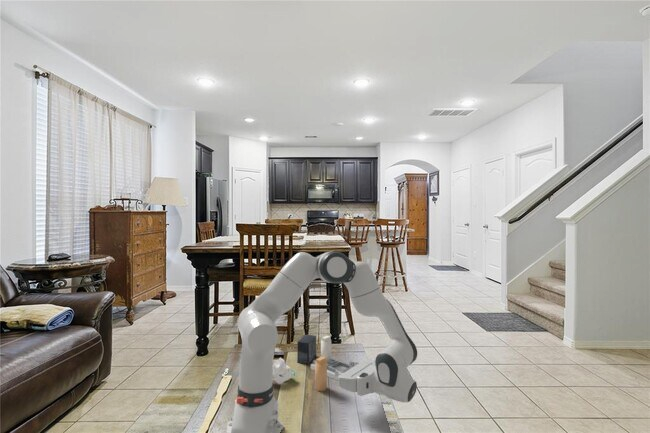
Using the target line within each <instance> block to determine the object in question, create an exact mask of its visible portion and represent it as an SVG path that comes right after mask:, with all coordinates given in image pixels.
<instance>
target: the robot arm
mask: <svg viewBox="0 0 650 433" xmlns="http://www.w3.org/2000/svg"><path fill="white" fill-rule="evenodd" d="M316 279H319V280H321V281H323V282H325V283H328V284H330V283H331V284H343V285H345V287H346V289H347V290H348V294H349V297H350V300H351V303H352V305H353V307H354V309H355V310H356V312H357V313H358V314H359V315H361V316H364V317H369V318H372V317H377V318H378V319H380V320H381V322H382V323H383V326H384V327H385V329H386V332H387V333H388V336H389V337H390V342H389V344H388V345H387V346H386V347H385V348H384V349H382V350H381V351H380V352H379V353H378V354H377V356H376V357H375V359H370V358H365V359H364V360H362V361H353V360H351V361H349V363H348V364H349V366H350V367H352V368H351V369H349V370H348V371H346V372H344V373H341V370H338V369H337V370H336V371H335V375H336V376H338V380H337V381H338V387H340V388H341V389H344V390H346V391H348V392H352V393H356V394H357V395H358V396H360V397H363V396H365V395H369V394H374V393H375V394H377V395H384V396H385V397H386V398H387V399H391V400H393V401H396V402H401V403H409V402H411V401H412V400H413V398H414V397H415V394H416V393H417V388H418V383H417V381H416V380H414V378H412V376H411V375H410V373H409V372H408V369H407V368H408V367H409V366H410V365H412V364H413V363H414V362H416V360H417V358H418V349H417V346H416V344H415V343H414V341H413V340H412V338H411V337H410V336H409V334H408V333H407V331H406V330H405V327H404V326H403V323H402V322H401V320H400V317H399V316H398V313H397V312H396V310H395V308H394V306H393V305H392V303H391V302H390V300H388V299H387V298H386V297H385V295H384V294H383V292H382V289H381V287H380V285H379V282H378V280H377V277H376V276H375V274H374V272H373V270H372V269H371V267H370V266H369V264H368V263H367V262H365V261H360V260H358V261H352V260H351V259H350V258H349V257H348V256H347V255H345V254H344V253H342V252H341V251H334V250H330V251H325V252H324V253H320V254H319V255H316V256H313V255H311V254H310V253H308V252H304V251H299V252H297V253H296V254H294V255H293V256H292V257H291V258H290V259H289V260H287V262H286V263H285V264H284V265H283V267H281V269H280V270H279V271H278V273H277V274H276V275H275V277H274V278H273V279H272V281H271V282H270V284H268V286H267V287H266V288H265V290H263V292H261V294H259V296H257V297H256V298H255V299H254V300H253V301H252V302H251V303H250V304H249V305H248V306H247V307H245V308H243V309H242V311H241V312H240V313H239V316H238V319H237V328H238V331H239V333H240V337H241V353H240V360H239V368H238V369H239V370H238V371H239V373H238V375H239V376H238V378H239V380H238V381H239V382H238V385H237V391H236V399H235V400H234V410H233V416H231V417H230V421H228V422H227V426H226V432H225V433H280V432H281V433H282V431H283V429H284V423H283V422H282V421H281V420H279V419H280V418H279V402H278V400H277V399H276V398H275V396H274V395H275V386H274V385H275V384H274V381H273V378H274V375H273V364H274V357H275V351H276V346H277V343H278V338H279V334H278V327H277V326H276V321H277V320H278V319H280V318H281V316H282V315H284V314H285V313H287V312H289V311H291V310H292V308H293V307H294V306H295V305H296V303H297V302H298V300H300V298H301V296H302V295H304V293H305V291H306V290H307V289H308V287H309V285H310V284H311V283H312V282H313V281H314V280H316ZM281 430H282V431H281Z"/></svg>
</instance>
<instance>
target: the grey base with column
mask: <svg viewBox="0 0 650 433" xmlns="http://www.w3.org/2000/svg"><path fill="white" fill-rule="evenodd" d="M322 356H324V357H326V361H327V378H331V379H333V380H335V381H338V376H336V375H335V371H336V370H337V369H338V370H341V373H344V372H346V371H348V370H349V369H351V368H352V367H350V366H349V363H347V362H344V361H341V360H339V359H337V358H333V357H332V339H331V336H330V335H328V334H327V335H325V336H322V337H321V339H320V357H322ZM315 361H316V359H313V360H312V363H310V370H312V371H315Z"/></svg>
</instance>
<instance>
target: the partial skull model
mask: <svg viewBox="0 0 650 433" xmlns="http://www.w3.org/2000/svg"><path fill="white" fill-rule="evenodd" d="M273 376H275V377H273V382H276V383H277V384H278V385H280V386H281V385H282V384H283V383H284V382H287V381H289V380H290V379H292V378H293V377H295V376H296V373H295V372H294V371H293V369H292V368H291V367H290V366H289V365H288V364H287V362H286V361H285V359H283V358H282V357H279V358H277V360H276V361H275V362H273Z"/></svg>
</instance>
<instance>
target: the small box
mask: <svg viewBox="0 0 650 433" xmlns="http://www.w3.org/2000/svg"><path fill="white" fill-rule="evenodd" d="M296 355H297V357H296V358H297V363H298V364H304V365H311V364H312V363H313V360H315V358H316V357H317V335H314V334H313V335H312V334H304V335H303V336H302V337H301V338H300V339H299V340H298V341H297V354H296ZM311 362H312V363H311Z"/></svg>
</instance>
